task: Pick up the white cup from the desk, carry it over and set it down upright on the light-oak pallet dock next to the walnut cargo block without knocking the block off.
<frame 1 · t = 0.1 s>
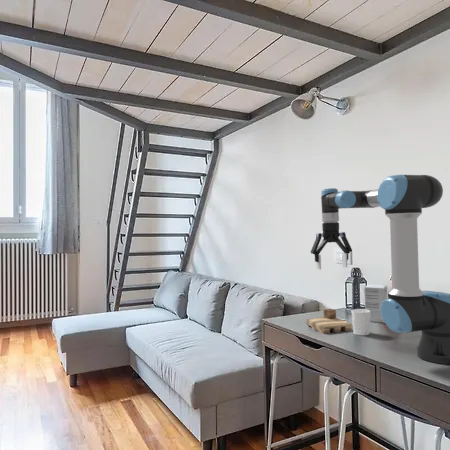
hand: (332, 268, 189), 28 cm above the table, fingers open, 13 cm apart
cargo block: (329, 318, 197), point 3 cm above the table, touching pallet dock
pallet dock: (328, 327, 190), on the table
white cup: (361, 333, 179), on the table
supplement box: (376, 320, 202), on the table
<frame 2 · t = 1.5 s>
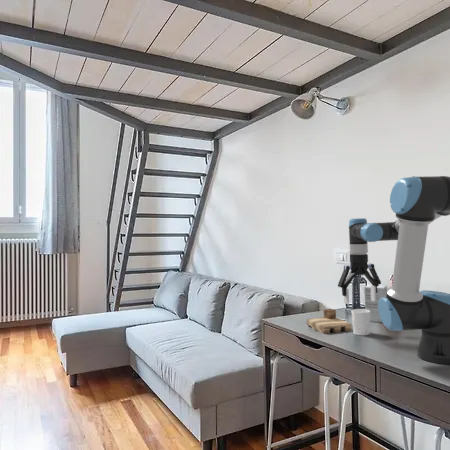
hand: (360, 302, 179), 14 cm above the table, fingers open, 13 cm apart
nothing on the table moved.
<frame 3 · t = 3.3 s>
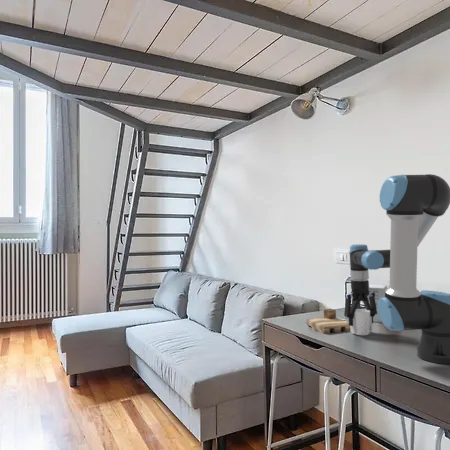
hand: (361, 331, 179), 1 cm above the table, fingers closed on white cup, 8 cm apart
white cup: (361, 333, 179), on the table, touching gripper
everything else where it was.
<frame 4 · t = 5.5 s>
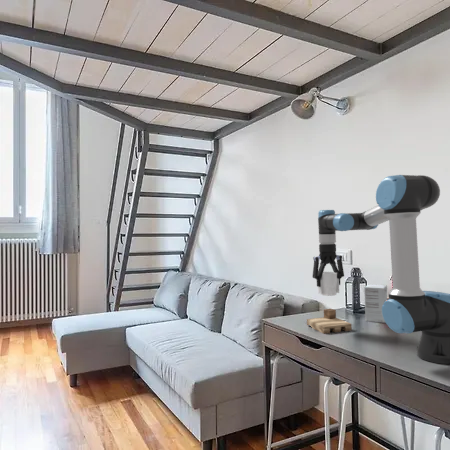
hand: (328, 293, 188), 17 cm above the table, fingers closed on white cup, 8 cm apart
white cup: (328, 294, 188), point 16 cm above the table, touching gripper
everything else where it was.
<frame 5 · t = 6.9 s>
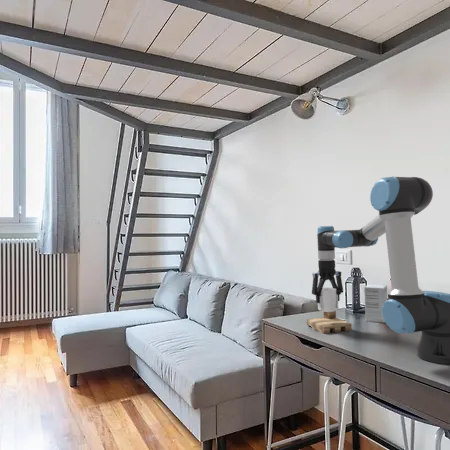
hand: (328, 309, 188), 9 cm above the table, fingers closed on white cup, 8 cm apart
white cup: (328, 311, 188), point 8 cm above the table, touching gripper
everything else where it was.
when the fingers open (5 cm above the table, at t = 8.1 s): white cup stays where it is, resting on pallet dock.
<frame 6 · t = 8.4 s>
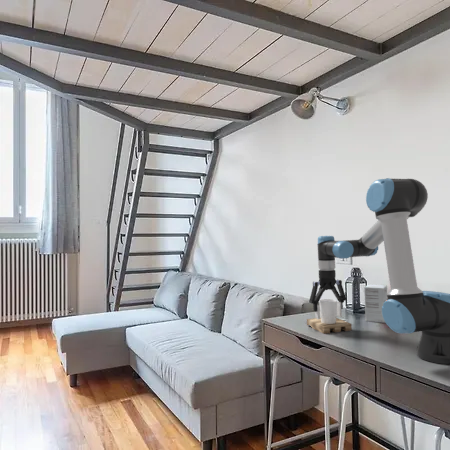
hand: (328, 317, 188), 5 cm above the table, fingers open, 10 cm apart
white cup: (328, 322, 188), point 3 cm above the table, touching pallet dock
everything else where it was.
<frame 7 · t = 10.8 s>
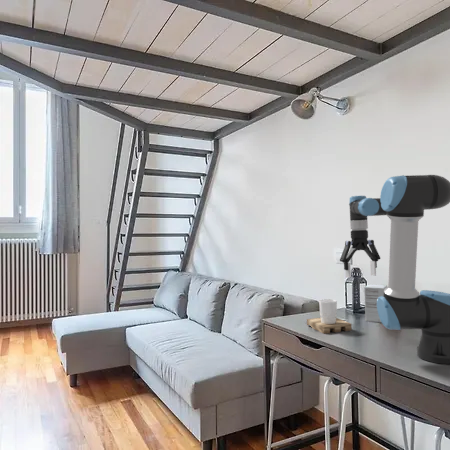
hand: (361, 276, 186), 24 cm above the table, fingers open, 13 cm apart
nothing on the table moved.
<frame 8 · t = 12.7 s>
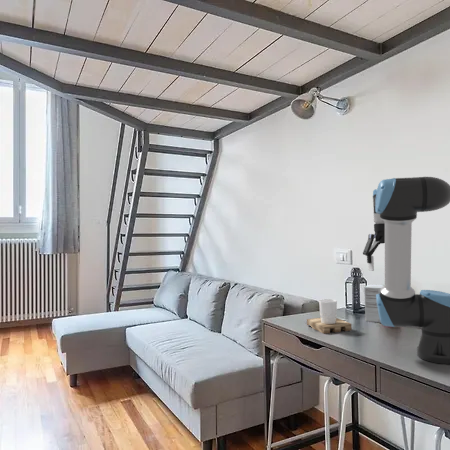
hand: (384, 269, 186), 27 cm above the table, fingers open, 13 cm apart
nothing on the table moved.
at the end: white cup inside the target area on the pallet dock (2.3 cm from its centre), point 2.8 cm above the pallet dock's base; white cup tilted 0°; cargo block moved 0.0 cm from its start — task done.
